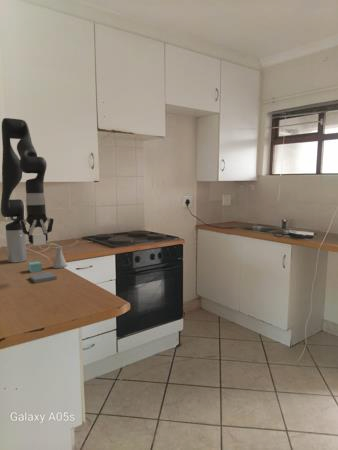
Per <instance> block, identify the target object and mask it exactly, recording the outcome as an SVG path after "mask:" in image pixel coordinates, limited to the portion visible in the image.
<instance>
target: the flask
mask: <svg viewBox="0 0 338 450" xmlns="http://www.w3.org/2000/svg"><path fill="white" fill-rule="evenodd" d="M55 250H56V252H55V257H54V261H53V263H52V268H53V269H61V268H67V267H68V263H67V261H66V259H65V257H64V255H63V246H57V247H55Z"/></svg>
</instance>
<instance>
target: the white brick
mask: <svg viewBox="0 0 338 450" xmlns="http://www.w3.org/2000/svg"><path fill="white" fill-rule="evenodd" d="M32 235H33V244H31V245H32V246H41V245H46V244H47V241H46V235H44V233H38V234H37V233H36V234H32Z"/></svg>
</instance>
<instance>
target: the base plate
mask: <svg viewBox="0 0 338 450" xmlns="http://www.w3.org/2000/svg"><path fill="white" fill-rule="evenodd" d="M28 276H29V279H30V281H32V282H33V283H34V284H39V283H44V282H49V281H55V280H57V275H56V274H54V273H53V272H51V271H46V272H45V271H44V272H37V273H32V274H29V275H28Z"/></svg>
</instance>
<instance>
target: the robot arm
mask: <svg viewBox="0 0 338 450" xmlns="http://www.w3.org/2000/svg"><path fill="white" fill-rule="evenodd" d="M11 139H12V140H19V141H18V142H17V144H16V151H17V153H18V155H17V154H16V152H15V151H14V148H13V147H12V144H11ZM1 140H2V141H1V142H2V164H1V180H2V183H1V185H2V186H1V187H2V188H1V190H2V191H1V201H0V213H1V216H2V217H3V218H13V217H14V218H15V219H14V220H13V221H11V222H8V223H7V224H5V236H6V238H5V241H6V253H7V262H8V263H22V262H25V261H28V260H27V245H26V235H27V236H28V237H27V238H28V239H27V240H28V242H29V244H31V245H32V244H33V235H34V234H33V232H34V230H35V228H40V229H41V231H42V234H44V235H46V242H48V241H49V238H48V236H49V235H48V234H49V233H50V232H52V231H53V225H54V221H55V220H54V218H51V217H50V218H49V217H47V215H46V214H47V212H46V211H47V209H46V197H45V194H44V193H45V192H44V180H45V174H46V170H47V161H46V160H45V158H44V157H42V156H38V154H37V151H36V149H35V146H34V144H33V142H32V137H31V133H30V129H29V126H28V123H27V122H26V120H23V119H19V118H18V119H17V118H10V117H4V118H2V121H1ZM23 173H24V174H36V176H35V177H34V178H28V179H26V181H25V204H24V201H23V200H22V199H11V195H12V194H13V191H14V190H15V189H16V187H18V185H19V183H20V182H21V180H22V179H23ZM25 205H26V206H25ZM25 207H26V219H25ZM46 222H47V223H48V225H47V227H46ZM27 223H28V224H29V226H28V230H27V227H26V225H27Z"/></svg>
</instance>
